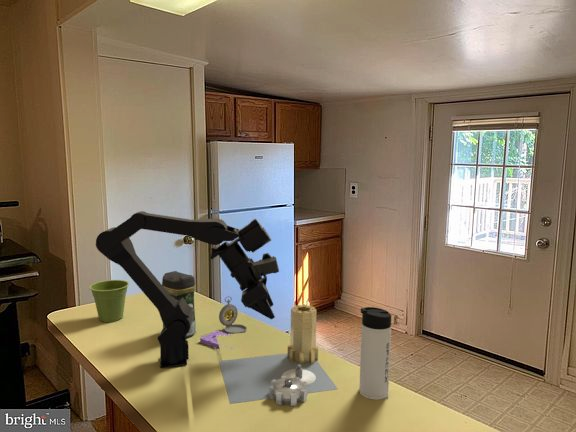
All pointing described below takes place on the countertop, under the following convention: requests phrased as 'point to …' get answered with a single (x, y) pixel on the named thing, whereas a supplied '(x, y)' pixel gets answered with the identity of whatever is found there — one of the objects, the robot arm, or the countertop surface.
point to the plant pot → (110, 299)
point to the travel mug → (375, 353)
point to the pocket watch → (230, 319)
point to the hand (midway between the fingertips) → (272, 311)
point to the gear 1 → (303, 335)
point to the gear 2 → (288, 391)
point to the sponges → (213, 339)
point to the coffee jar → (181, 291)
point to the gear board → (269, 376)
